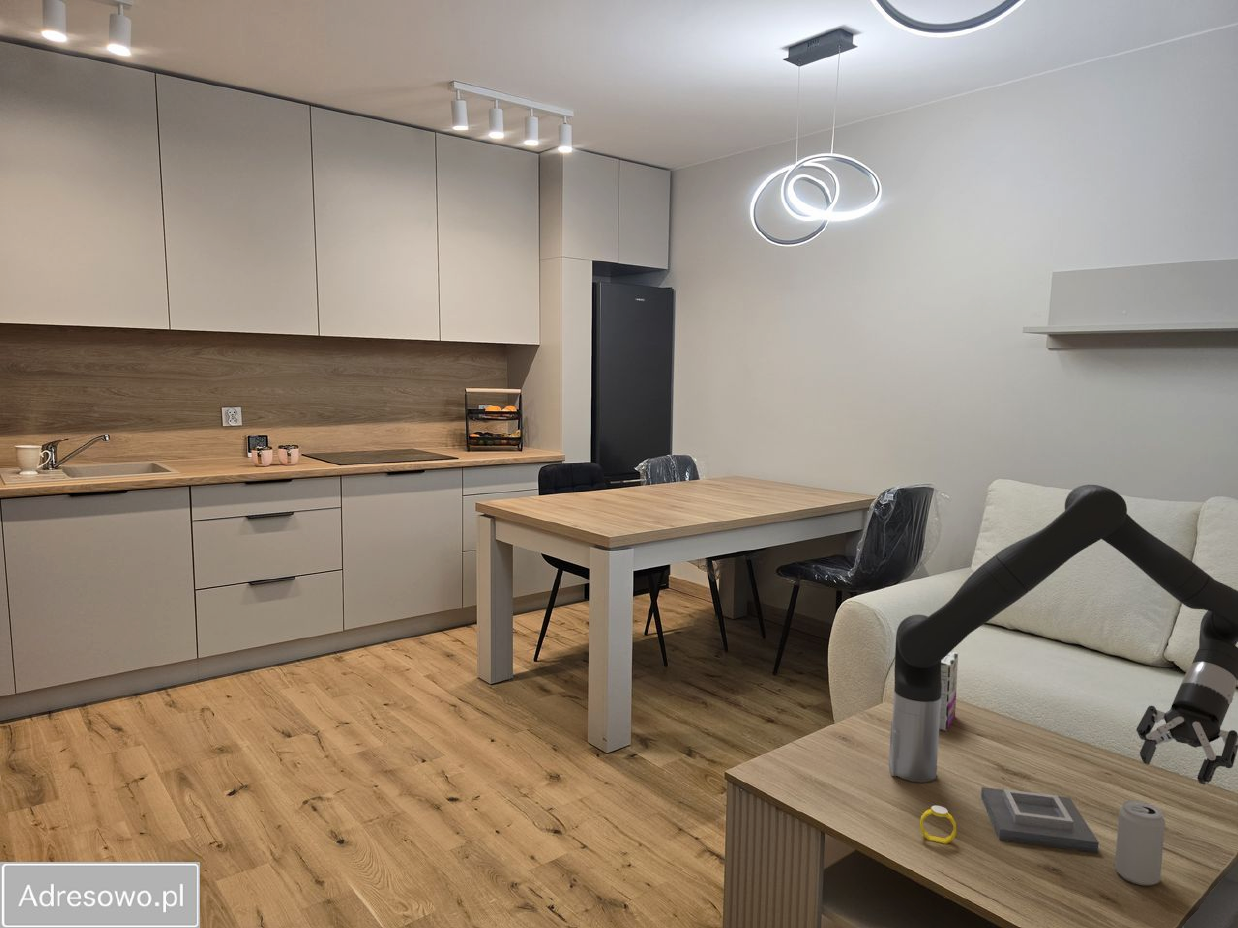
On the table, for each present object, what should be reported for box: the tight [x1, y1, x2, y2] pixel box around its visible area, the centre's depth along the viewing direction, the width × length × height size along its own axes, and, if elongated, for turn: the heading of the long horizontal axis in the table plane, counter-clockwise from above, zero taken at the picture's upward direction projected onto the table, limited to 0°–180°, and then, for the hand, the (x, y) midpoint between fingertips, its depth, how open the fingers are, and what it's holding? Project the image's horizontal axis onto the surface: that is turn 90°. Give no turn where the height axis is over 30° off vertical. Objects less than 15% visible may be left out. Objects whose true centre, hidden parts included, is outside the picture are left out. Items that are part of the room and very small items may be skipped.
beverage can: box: [1114, 800, 1166, 887], centre depth 134 cm, size 6×6×12 cm
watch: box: [919, 805, 957, 845], centre depth 145 cm, size 6×3×6 cm, turn 69°
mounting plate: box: [980, 786, 1100, 854], centre depth 151 cm, size 16×16×4 cm
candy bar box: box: [939, 650, 959, 732], centre depth 196 cm, size 11×5×16 cm, turn 148°
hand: (1172, 771), depth 140 cm, fingers open, 8 cm apart
